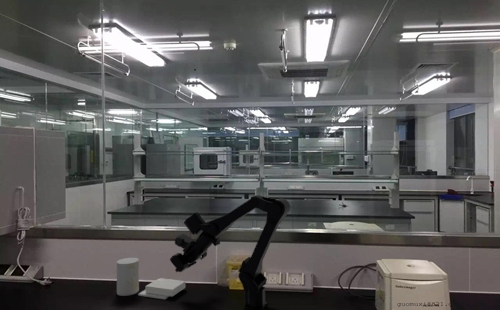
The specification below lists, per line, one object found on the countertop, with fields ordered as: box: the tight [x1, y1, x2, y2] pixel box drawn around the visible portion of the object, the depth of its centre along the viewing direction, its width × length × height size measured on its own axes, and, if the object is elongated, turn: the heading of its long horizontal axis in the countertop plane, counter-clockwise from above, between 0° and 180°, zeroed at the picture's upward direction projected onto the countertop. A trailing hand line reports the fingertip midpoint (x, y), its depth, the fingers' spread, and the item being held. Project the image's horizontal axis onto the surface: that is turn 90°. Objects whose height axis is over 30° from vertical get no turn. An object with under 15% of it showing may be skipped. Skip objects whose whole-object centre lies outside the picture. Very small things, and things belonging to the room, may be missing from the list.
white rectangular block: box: [145, 277, 186, 297], centre depth 124 cm, size 3×9×12 cm
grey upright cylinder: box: [116, 257, 140, 297], centre depth 126 cm, size 8×8×12 cm
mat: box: [137, 289, 170, 300], centre depth 124 cm, size 12×10×1 cm
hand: (176, 271), depth 123 cm, fingers closed
